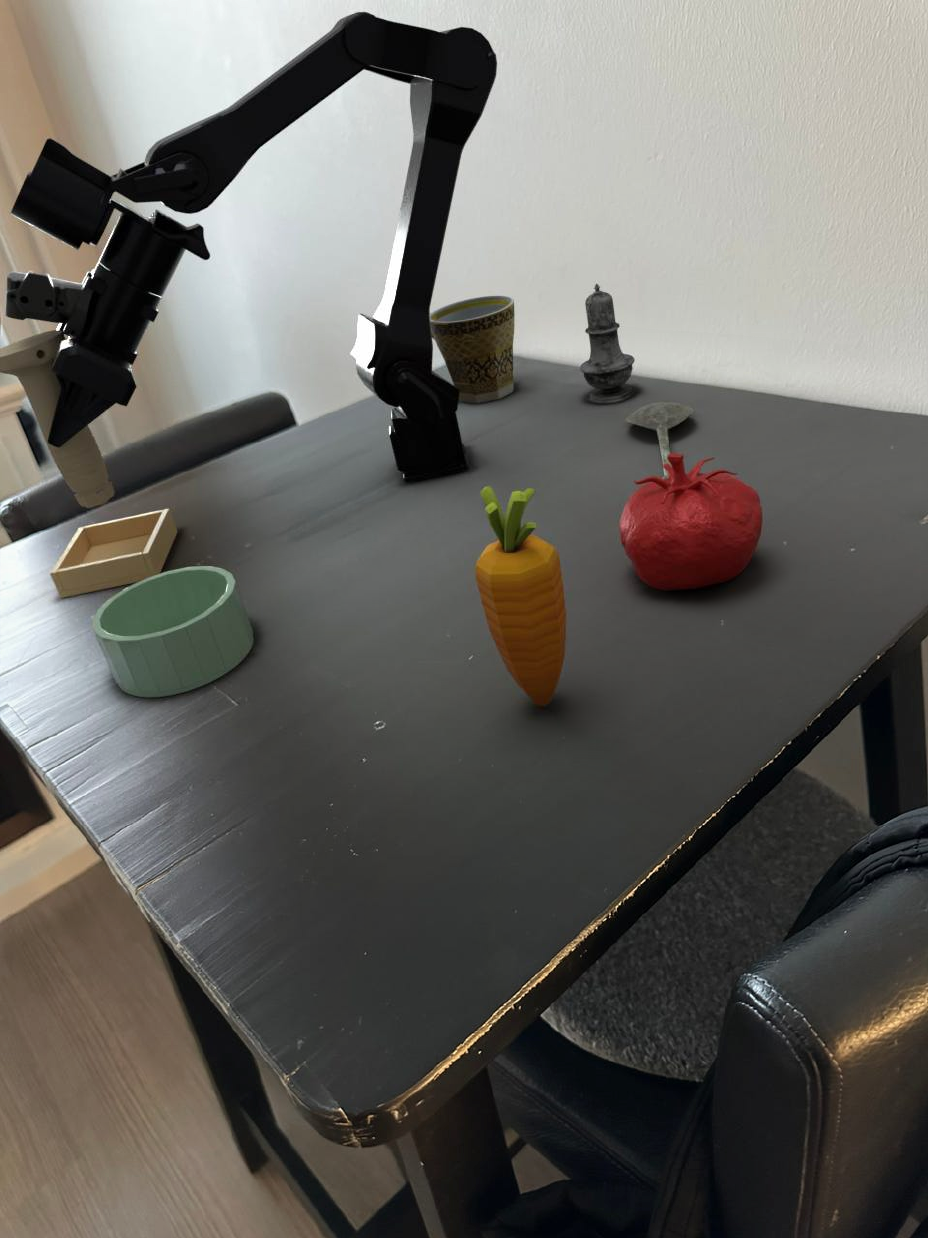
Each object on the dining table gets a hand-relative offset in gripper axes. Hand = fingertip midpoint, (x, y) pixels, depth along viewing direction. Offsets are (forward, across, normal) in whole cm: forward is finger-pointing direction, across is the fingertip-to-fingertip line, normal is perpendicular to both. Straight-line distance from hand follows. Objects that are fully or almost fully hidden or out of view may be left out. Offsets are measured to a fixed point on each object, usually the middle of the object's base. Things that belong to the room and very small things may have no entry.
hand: (53, 439), depth 91 cm
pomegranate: (-20, +35, +40) cm, 57 cm away
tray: (+8, 0, +10) cm, 13 cm away
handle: (+4, 0, +6) cm, 7 cm away
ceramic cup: (-22, -19, +41) cm, 50 cm away
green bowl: (+6, +22, +13) cm, 27 cm away
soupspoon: (-26, +15, +46) cm, 55 cm away
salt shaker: (-29, -5, +49) cm, 57 cm away
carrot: (-9, +44, +28) cm, 54 cm away
